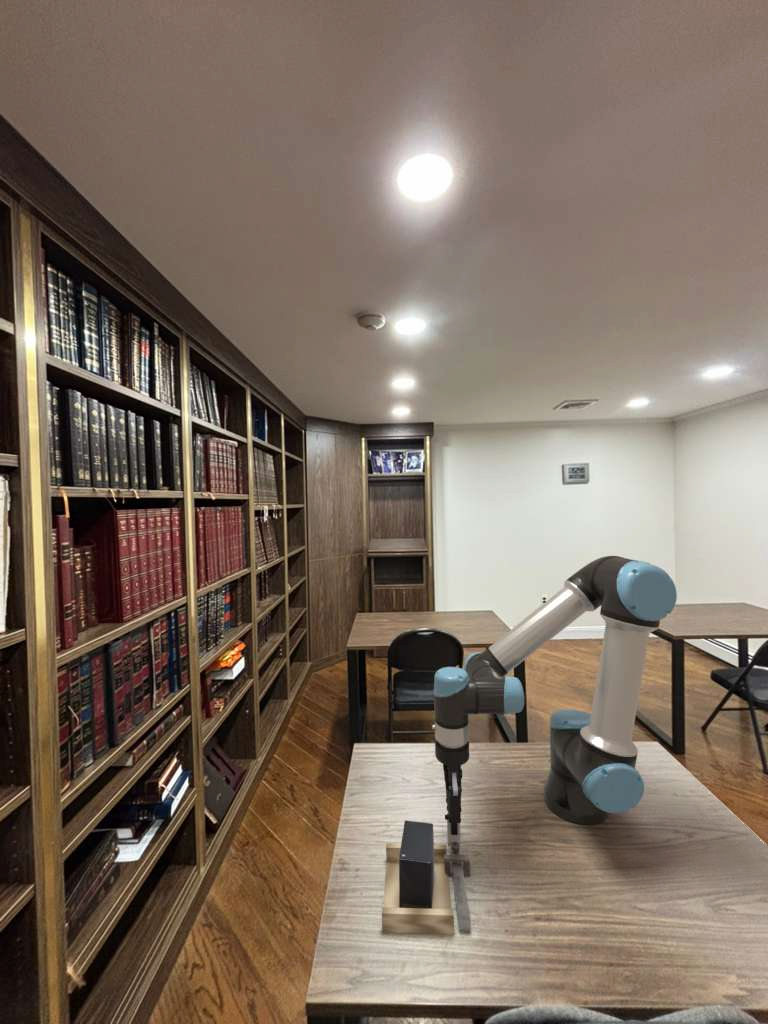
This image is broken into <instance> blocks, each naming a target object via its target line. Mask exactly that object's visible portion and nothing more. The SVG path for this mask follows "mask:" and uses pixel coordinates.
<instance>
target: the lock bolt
mask: <svg viewBox="0 0 768 1024" xmlns="http://www.w3.org/2000/svg"><path fill="white" fill-rule="evenodd" d="M449 855H462V853H461V846H460V847H459V842H450V847H449ZM451 875H452V880H453V881H452V882H453V888H454V897H455V907H456V913H457V921H458V923H457V924H458V930H459V933H471V928H472V927H471V916H470V915H471V914H470V909H469V907H470V906H469V902H468V894H467V889H466V888H467V887H466V882H465V881H466V880H465V876H464V866H463V862H451Z"/></svg>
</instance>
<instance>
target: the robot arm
mask: <svg viewBox="0 0 768 1024" xmlns="http://www.w3.org/2000/svg"><path fill="white" fill-rule="evenodd" d="M563 585H564V586H563V587H562V588H561V589H560V590H559V591H557V592H556V593H555V594H554V595H553V596H551V597H550V598H549V599H547V601H545V602H543V604H542V605H540V606H539V607H538V608H536V609H535V610H534V611H533V612H532V613H530V614H529V615H527V616H526V617H525V618H524V619H523V620H521V621H519V623H518V624H517V625H515V626H513V628H511V629H510V630H509V631H507V632H506V633H505V634H504V635H503V636H500V638H499V639H497V640H496V641H495V642H494V643H493V644H491V645H490V646H489V647H488V648H486V649H485V650H484V651H482V652H481V651H479V652H478V651H477V652H476V651H475V652H472V653H470V654H469V655H468V656H467V657H466V658H465V660H464V662H463V668H461V667H454V666H446V667H441V668H440V669H438V670H437V671H436V672H435V674H434V684H433V685H434V686H433V703H434V705H433V706H434V709H433V710H434V724H432V725H431V729H432V730H434V739H435V740H434V748H435V750H434V751H435V752H434V756H435V759H437V761H438V762H439V763H441V764H442V769H443V775H444V777H443V779H444V782H445V783H444V784H445V797H446V798H445V802H446V811H447V813H446V814H444V820H445V821H446V827H447V829H446V833H447V838H446V839H447V840H446V841H447V847H449V848H450V842H459V847H460V848H461V823H462V817H461V816H462V792H463V788H462V779H463V769H462V765H465V764H467V762H468V761H469V759H470V742H469V741H470V721H469V717H470V716H473V715H508V714H515V713H516V714H517V713H521V712H522V711H523V709H524V706H525V692H524V688H523V684H522V682H521V681H520V679H519V677H515V676H508V675H507V674H509V673H510V672H511V671H513V669H515V668H517V667H518V666H519V665H520V664H522V662H524V661H525V660H526V659H528V658H529V657H531V656H532V655H533V654H534V653H535V652H536V651H538V650H539V649H540V648H541V647H543V646H544V645H546V644H547V643H548V642H549V641H551V639H553V638H554V637H556V636H557V635H558V634H559V633H561V632H562V631H563V630H564V629H566V628H567V627H568V626H569V625H571V624H572V623H573V622H575V620H577V619H578V618H579V617H581V616H582V615H583V614H585V613H586V612H592V613H593V612H595V611H596V610H598V608H600V611H599V615H600V616H601V618H602V619H603V621H605V628H604V633H603V639H602V644H601V651H600V658H599V661H598V663H599V664H598V668H597V669H598V670H597V674H596V680H595V687H594V693H593V698H592V703H591V704H592V705H591V711H590V712H588V711H583V710H579V709H571V708H570V709H568V708H567V709H560V710H556V711H554V712H553V713H551V715H550V720H549V725H548V726H549V727H548V728H549V745H550V746H549V747H550V749H549V751H550V752H549V753H550V754H549V755H550V770H549V772H548V775H547V778H546V780H545V783H544V787H543V798H544V799H543V800H544V802H545V804H546V806H547V807H548V808H549V810H551V812H553V814H555V815H557V816H558V817H560V818H562V819H563V820H566V821H568V822H571V823H575V824H579V825H596V824H600V823H602V822H604V821H605V820H606V819H607V818H608V816H609V813H610V814H622V813H625V812H628V811H629V810H630V809H632V808H635V807H636V806H637V805H638V804H639V803H640V801H641V800H642V798H643V795H644V792H645V783H644V779H643V778H642V776H641V773H640V772H639V771H638V770H637V769H636V765H637V759H638V752H639V751H638V750H639V749H638V747H637V746H636V745H635V743H634V742H633V740H632V738H633V733H634V727H635V721H636V715H637V710H638V709H637V708H638V704H639V703H638V702H639V697H640V691H641V686H642V679H643V673H644V667H645V661H646V655H647V650H648V644H649V637H650V634H651V633H652V632H654V631H657V630H658V629H659V627H660V624H661V623H660V622H661V620H663V619H664V618H667V615H668V614H671V613H672V611H673V610H674V608H675V605H676V603H677V597H678V596H677V595H678V594H677V588H676V585H675V582H674V581H673V578H671V576H670V575H669V573H667V571H666V570H664V569H663V568H661V567H659V566H658V565H655V564H651V563H650V562H646V561H644V560H637V559H636V560H635V559H631V558H625V557H622V556H619V555H607V556H602V557H599V558H597V559H594V560H592V561H590V562H589V563H588V564H586V565H584V566H583V567H582V568H580V569H578V570H577V571H576V572H574V573H573V574H572V575H571V576H570V577H568V578H567V579H566V580H565V581H564V583H563Z"/></svg>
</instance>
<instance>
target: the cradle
mask: <svg viewBox="0 0 768 1024" xmlns="http://www.w3.org/2000/svg"><path fill="white" fill-rule="evenodd" d="M400 849H401V843H386V844H385V856H386V857H385V860H386V861H385V862H386V864H385V877H384V893H383V894H384V896H383V897H384V898H383V906H382V907H381V929H382V930H381V932H382V933H396V934H397V933H398V934H425V935H426V934H427V935H455V914H454V908H453V907H452V900H451V899H452V898H451V891H450V883H449V877H452V865H451V862H462V864H463V874H464V877H471V860H470V859H471V858H470V854H461V855H450V854H448V853H447V844H439V843H437V844H436V843H434V883H433V898H432V909H424V908H399V855H400Z"/></svg>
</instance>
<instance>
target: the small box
mask: <svg viewBox="0 0 768 1024" xmlns="http://www.w3.org/2000/svg"><path fill="white" fill-rule="evenodd" d="M434 836H435V835H434V824H433V823H430V822H421V821H411V820H404V824H403V829H402V837H401V843H400V844H401V849H400V855H399V908H424V909H432V898H433V883H434V844H435V841H434V840H435V839H434V838H435V837H434Z"/></svg>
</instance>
